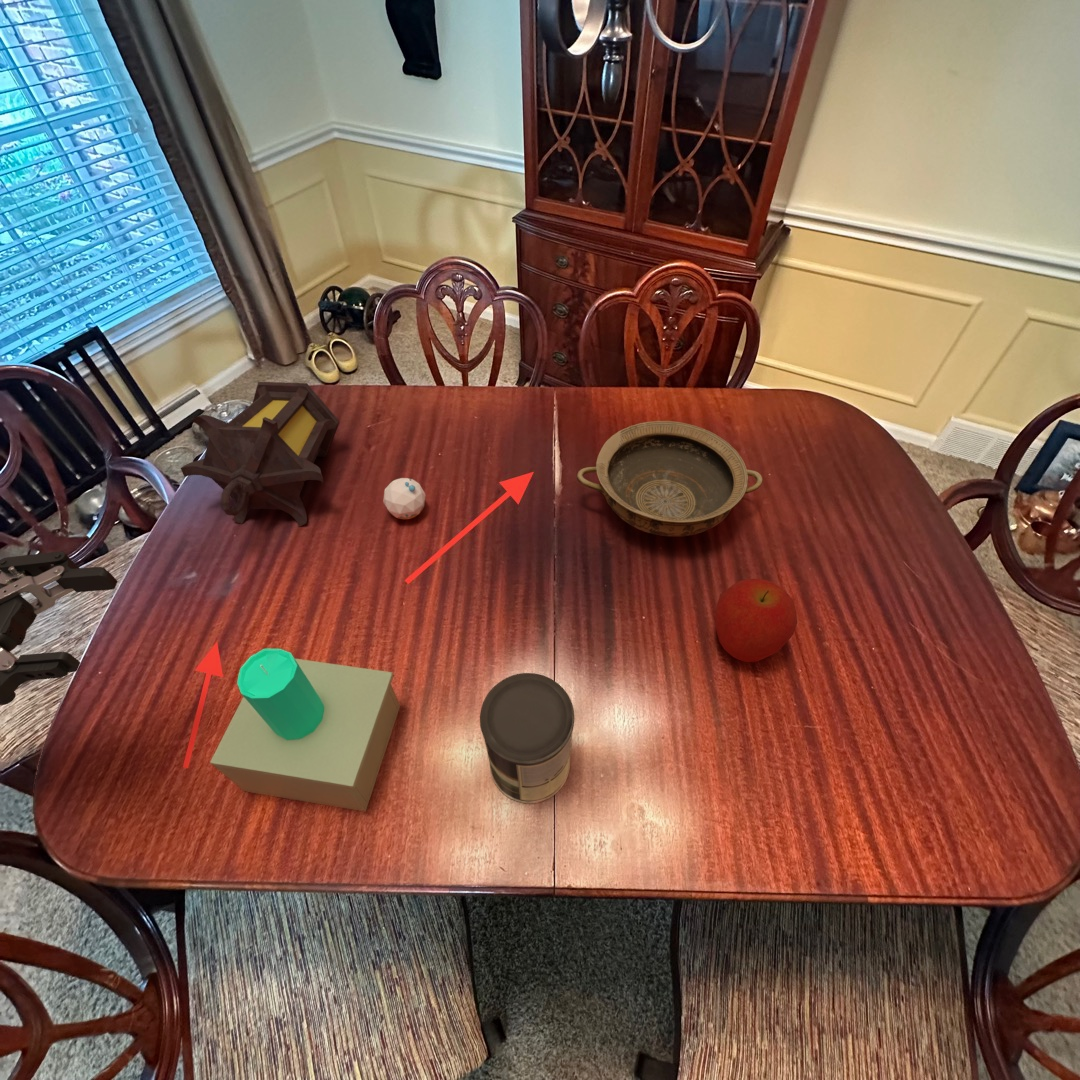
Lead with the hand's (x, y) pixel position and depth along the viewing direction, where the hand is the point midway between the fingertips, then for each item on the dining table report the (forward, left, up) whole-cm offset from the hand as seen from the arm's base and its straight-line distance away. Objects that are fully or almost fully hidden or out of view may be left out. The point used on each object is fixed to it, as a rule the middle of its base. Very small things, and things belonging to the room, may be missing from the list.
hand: (93, 618), depth 53 cm
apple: (+55, -43, -32) cm, 77 cm away
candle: (+7, -8, -22) cm, 25 cm away
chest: (+8, -8, -32) cm, 34 cm away
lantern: (+32, +35, -32) cm, 57 cm away
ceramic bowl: (+71, -20, -32) cm, 80 cm away
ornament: (+43, +14, -32) cm, 55 cm away
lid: (+8, -8, -23) cm, 26 cm away
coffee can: (+23, -30, -32) cm, 50 cm away
